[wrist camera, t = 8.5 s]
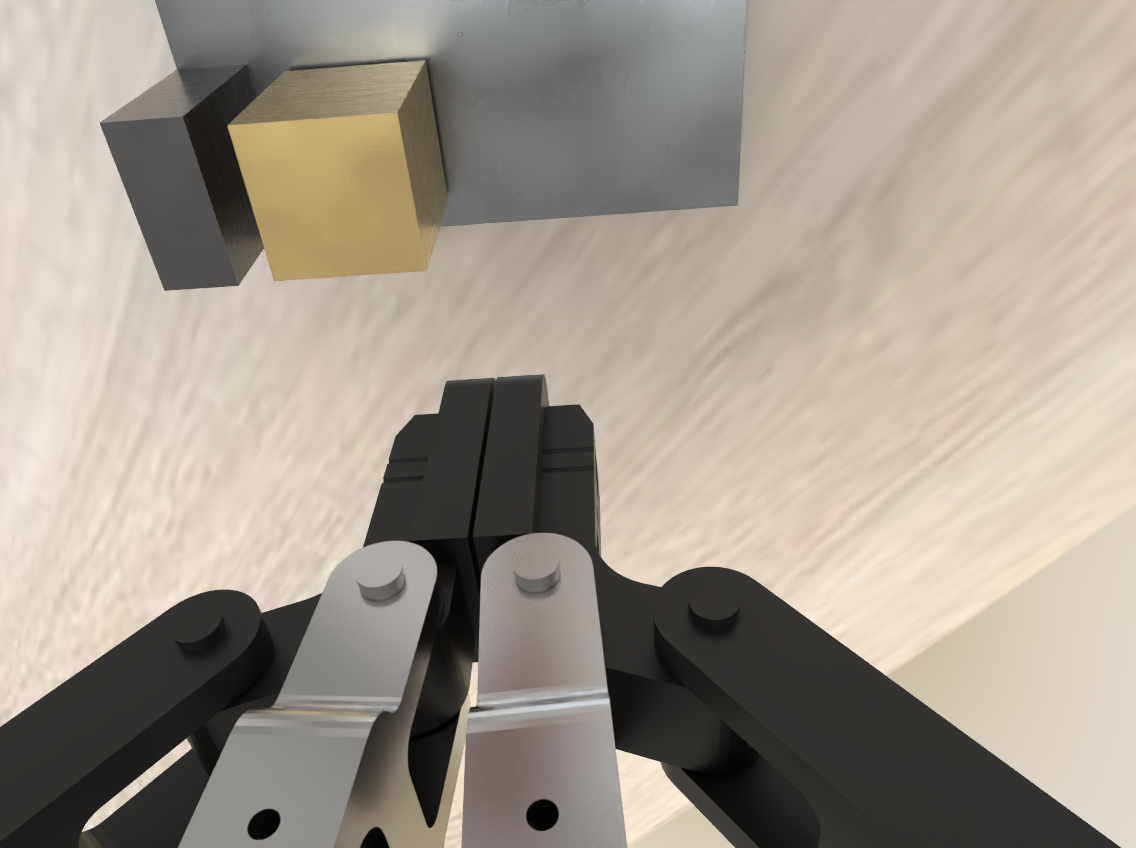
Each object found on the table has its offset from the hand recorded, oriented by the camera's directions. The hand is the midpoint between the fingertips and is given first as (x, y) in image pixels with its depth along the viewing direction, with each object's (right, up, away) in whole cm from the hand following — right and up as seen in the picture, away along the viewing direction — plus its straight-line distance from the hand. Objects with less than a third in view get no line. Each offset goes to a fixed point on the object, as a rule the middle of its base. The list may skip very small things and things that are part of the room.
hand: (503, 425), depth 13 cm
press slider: (-5, +8, +12) cm, 15 cm away
